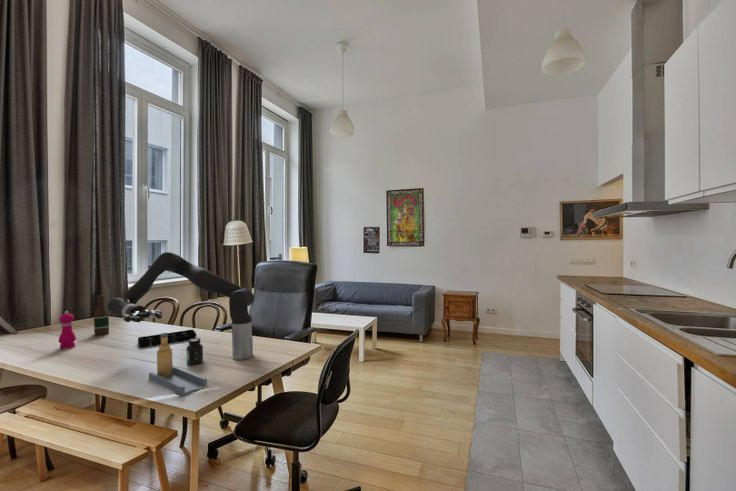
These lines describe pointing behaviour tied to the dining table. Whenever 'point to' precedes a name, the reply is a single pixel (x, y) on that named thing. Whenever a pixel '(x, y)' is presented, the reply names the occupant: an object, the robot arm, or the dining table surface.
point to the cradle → (180, 381)
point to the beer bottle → (101, 318)
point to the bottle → (164, 358)
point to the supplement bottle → (194, 352)
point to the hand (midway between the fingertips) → (150, 318)
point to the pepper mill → (67, 331)
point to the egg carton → (172, 336)
